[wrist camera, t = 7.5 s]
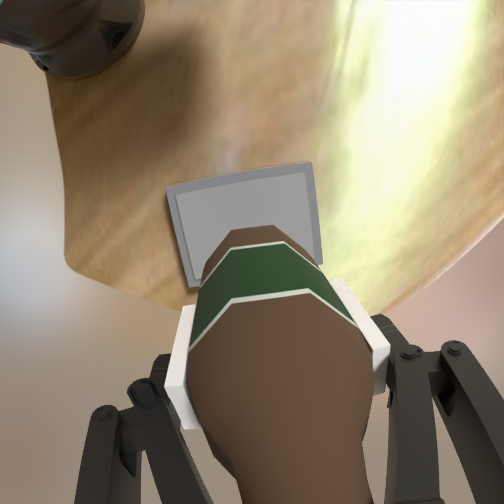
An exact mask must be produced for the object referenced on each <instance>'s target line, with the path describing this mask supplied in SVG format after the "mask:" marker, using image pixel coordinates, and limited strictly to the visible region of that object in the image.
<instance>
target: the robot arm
mask: <svg viewBox="0 0 504 504" xmlns="http://www.w3.org/2000/svg"><path fill="white" fill-rule="evenodd" d="M144 13H145V5H144V0H0V43H3V44H7V45H11V46H13V47H17V48H20V49H23V50H26V51H27V52H28V53H29V55H30V56H31V57H32V59H33V60H34V62H35V63H36V64H37V66H38V67H39V68H40V69H41V70H43V71H44V72H46V73H47V74H49V75H52V76H55V77H58V78H61V79H67V80H77V79H83V78H87V77H90V76H93V75H95V74H97V73H99V72H101V71H103V70H105V69H106V68H108V67H109V66H111V65H112V64H113V63H115V62H116V61H117V60H118V59H119V58H120V57H121V56H122V55H123V54H124V53H125V52H126V51H127V50H128V49H129V48H130V46H131V45H132V43H133V42H134V40H135V39H136V37H137V35H138V33H139V31H140V29H141V26H142V23H143V19H144ZM328 282H329V284H330V285H331V287H332V288H333V290H334V291H335V293H336V294H337V296H338V297H339V299H340V300H341V302H342V303H343V305H344V306H345V308H346V309H347V311H348V312H349V314H350V315H351V317H352V318H353V320H354V322H355V323H356V325H357V326H358V328H359V329H360V331H361V333H362V335H363V337H364V339H365V341H366V343H367V346H368V348H369V350H370V352H371V354H372V358H373V376H374V393H373V396H374V395H377V394H381V393H384V392H385V387H386V384H387V386H388V387H389V389H390V393H389V399H388V405H387V408H389V438H388V460H387V477H386V488H385V499H384V504H445V502H444V500H443V499H441V498H440V493H439V467H438V450H437V439H436V427H435V418H434V410H433V403H432V398H433V400H434V402H435V404H436V406H437V408H438V410H439V413H440V415H441V417H442V419H443V422H444V424H445V426H446V428H447V431H448V433H449V435H450V438H451V440H452V442H453V445H454V447H455V449H456V452H457V454H458V457H459V459H460V462H461V464H462V467H463V469H464V472H465V474H466V477H467V480H468V483H469V485H470V488H471V491H472V493H473V497H474V499H475V502H476V504H504V400H503V398H502V396H501V395H500V393H499V392H498V390H497V389H496V387H495V386H494V384H493V383H492V381H491V380H490V378H489V377H488V375H487V374H486V372H485V371H484V369H483V368H482V367H481V365H480V364H479V362H478V361H477V360H476V358H475V356H474V355H473V354H472V352H471V351H470V349H469V348H468V347H467V346H466V345H465V344H464V343H462V342H460V341H455V340H453V341H448V342H445V343H444V344H443V345H442V347H441V351H435V352H424V351H423V350H422V349H421V348H420V347H419V346H416V345H410V344H409V343H408V342H407V340H406V339H405V338H404V337H403V335H402V334H401V333H400V332H399V330H397V328H396V327H395V325H393V323H392V322H391V320H390V319H389V318H388V317H386V316H384V315H382V314H378V315H374V316H369V315H368V313H367V312H366V311H365V309H364V308H363V307H362V305H361V304H360V303H359V301H358V300H357V299H356V297H355V296H354V295H353V293H352V292H351V291H350V289H349V288H348V287H347V285H346V284H345V283H344V281H343V280H342V279H341V278H338V279H333V280H328ZM196 305H197V304H194V305H187V306H183V309H182V313H181V317H180V322H179V325H178V329H177V333H176V338H175V342H174V346H173V350H172V353H170V354H162V355H159V356H158V357H157V358H156V360H155V361H154V363H153V367H152V370H151V373H150V377H149V378H143V379H139V380H136V381H134V382H133V383H132V384H131V385H130V386H129V387H128V389H127V394H128V395H129V398H130V399H131V401H132V403H133V405H134V407H131V408H128V409H125V410H121V411H118V410H117V408H116V407H114V406H112V405H104V406H101V407H99V408H97V409H96V410H95V411H94V412H93V413H92V416H91V419H90V423H89V427H88V432H87V437H86V441H85V446H84V451H83V455H82V461H81V466H80V471H79V477H78V483H77V489H76V495H75V502H74V504H141V458H142V451H143V450H146V454H147V457H148V461H149V464H150V467H151V471H152V474H153V477H154V481H155V484H156V487H157V490H158V493H159V496H160V499H161V502H162V504H214V503H213V501H212V499H211V497H210V495H209V493H208V491H207V489H206V487H205V485H204V483H203V480H202V479H201V476H200V474H199V472H198V470H197V468H196V465H195V463H194V461H193V458H192V456H191V454H190V452H189V449H188V447H187V445H186V442H185V440H184V437H183V435H182V433H181V431H180V425H181V423H182V426H183V428H184V429H199V428H201V423H200V420H199V418H198V415H197V412H196V409H195V406H194V403H193V400H192V397H191V394H190V391H189V388H188V385H187V368H188V350H189V344H190V339H191V333H192V327H193V321H194V316H195V310H196Z"/></svg>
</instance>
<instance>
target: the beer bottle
mask: <svg viewBox="0 0 504 504" xmlns="http://www.w3.org/2000/svg"><path fill="white" fill-rule="evenodd" d="M187 385H188V388H189V391H190V394H191V397H192V400H193V403H194V406H195V409H196V412H197V415H198V418H199V420H200V423H201V426H202V429H203V431H204V434H205V436H206V439H207V441H208V444H209V446H210V449H211V451H212V453H213V456H214V457H215V458H216V459H217V460H218V461H219V462H220V463H221V465H222V466H223V467H224V468H225V469H226V470H227V471H228V472H229V473H230V474H231V475H232V476H233V477H234V478H235V479H236V481H237V484H238V488H239V492H240V495H241V499H242V503H243V504H374V502H373V499H372V495H371V491H370V488H369V484H368V480H367V475H366V468H365V461H364V454H363V447H362V441H363V438H364V435H365V432H366V428H367V423H368V418H369V413H370V408H371V403H372V397H373V393H374V376H373V358H372V354H371V352H370V350H369V348H368V346H367V343H366V341H365V339H364V337H363V335H362V333H361V331H360V329H359V328H358V326H357V325H356V323H355V322H354V320H353V318H352V317H351V315H350V314H349V312H348V311H347V309H346V308H345V306H344V305H343V303H342V302H341V300H340V299H339V297H338V296H337V294H336V293H335V291H334V290H333V288H332V287H331V285H330V284H329V282H328V280H327V279H326V277H325V276H324V274H323V273H322V271H321V270H320V268H319V267H318V266H317V264H316V263H315V261H314V260H313V258H312V257H311V256H310V255H309V254H308V252H307V251H306V250H305V249H304V248H302V247H301V246H300V245H299V244H297V243H296V242H295V241H294V240H292V239H291V238H290V237H289V236H287V235H286V234H285V233H283V232H282V231H281V230H280V229H278V228H277V227H276V226H275V225H266V226H258V227H250V228H242V229H234V230H231V231H230V232H229V233H228V234H227V236H226V237H225V238H224V240H223V241H222V242H221V243H220V245H219V246H218V247H217V248H216V250H215V251H214V252H213V253H212V255H211V256H210V257H209V259H208V260H207V261H206V263H205V266H204V269H203V273H202V278H201V283H200V288H199V294H198V299H197V305H196V310H195V316H194V321H193V327H192V333H191V339H190V344H189V350H188V368H187Z"/></svg>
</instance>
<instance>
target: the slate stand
mask: <svg viewBox="0 0 504 504" xmlns="http://www.w3.org/2000/svg"><path fill="white" fill-rule="evenodd" d="M165 189H166V193H167V198H168V202H169V207H170V211H171V216H172V220H173V225H174V229H175V233H176V237H177V241H178V246H179V250H180V254H181V258H182V262H183V266H184V270H185V273H186V277H187V281H188V285H189V288H191V287H197V286H200V283H201V278H202V273H203V269H204V266H205V263H206V261H207V260H208V259H209V257H210V256H211V255H212V253H213V252H214V251H215V250H216V248H217V247H218V246H219V245H220V243H221V242H222V241H223V240H224V238H225V237H226V236H227V234H228V233H229V232H230V231H231V230H234V229H242V228H250V227H258V226H266V225H275V226H276V227H277V228H278V229H280V230H281V231H282V232H283V233H285V234H286V235H287V236H289V237H290V238H291V239H292V240H294V241H295V242H296V243H297V244H299V245H300V246H301V247H302V248H304V249H305V250H306V251H307V252H308V254H309V255H310V256H311V257H312V258H313V260H314V261H315V263H316V264H317V265H320V264H323V258H322V247H321V236H320V226H319V217H318V208H317V199H316V191H315V183H314V175H313V167H312V162H311V161H302V162H295V163H288V164H281V165H274V166H268V167H261V168H255V169H249V170H243V171H237V172H232V173H226V174H221V175H215V176H210V177H205V178H200V179H195V180H190V181H185V182H180V183H176V184H171V185H168V186H167V187H165Z"/></svg>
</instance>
